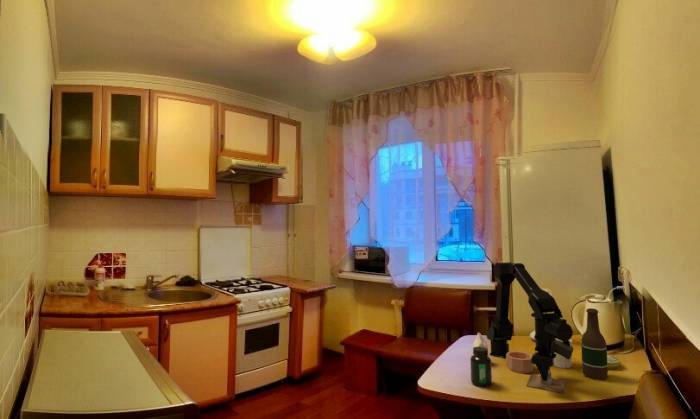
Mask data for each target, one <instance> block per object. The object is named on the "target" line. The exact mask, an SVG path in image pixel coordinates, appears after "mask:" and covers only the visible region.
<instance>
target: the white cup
mask: <svg viewBox="0 0 700 419" xmlns="http://www.w3.org/2000/svg"><path fill="white" fill-rule="evenodd" d="M556 340H558V341H561V340H559V339H557V338H556ZM568 341H570V346H573V339H572V338H571V339H570V340H568ZM561 342H562V341H561ZM555 354H557V353H555ZM572 359H573V354H572V355H571V357H570V359H566V358H565V357H563V356H561V355H559V354H557V355H556V357H555V358H554V364H553V366H554V367H556V368H562V369H570V368H572V362H573V361H572Z"/></svg>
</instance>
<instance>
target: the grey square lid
mask: <svg viewBox="0 0 700 419" xmlns="http://www.w3.org/2000/svg"><path fill="white" fill-rule="evenodd" d="M566 382H567V381H566V380H565V379H559V378H553V377H552V370H551V369H550V370H549V371H548V377H547V381H543V379H542V377H541V375H537V374H532V373H530V376H529V377H528V380H527V383H526V385H525V386H526V387H527V388H531V389H537V390H541V391H546V392H550V391H551V393H557V394H561V395H564V392H565V387H566Z"/></svg>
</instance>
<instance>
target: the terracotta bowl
mask: <svg viewBox="0 0 700 419" xmlns="http://www.w3.org/2000/svg"><path fill="white" fill-rule="evenodd" d="M532 355H533V354H530V353H528V352H524V351H518V350H514V351H509V352H508V353H507V354H506V358H505V361H506V363H505V364H506V368H507V369H508V370H509V371H511V372H515V373H518V374H532V373H533V371H534V365H535V364H533V363H532V361H531V357H532Z"/></svg>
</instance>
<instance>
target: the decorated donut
mask: <svg viewBox="0 0 700 419" xmlns="http://www.w3.org/2000/svg"><path fill="white" fill-rule="evenodd" d="M621 364H622V361H621V360H620V359H619V357H616V356H614V355H611V354H609V353H607V365H608V370H611V371H612V370H618V369H619V368H620V367H621Z"/></svg>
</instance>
